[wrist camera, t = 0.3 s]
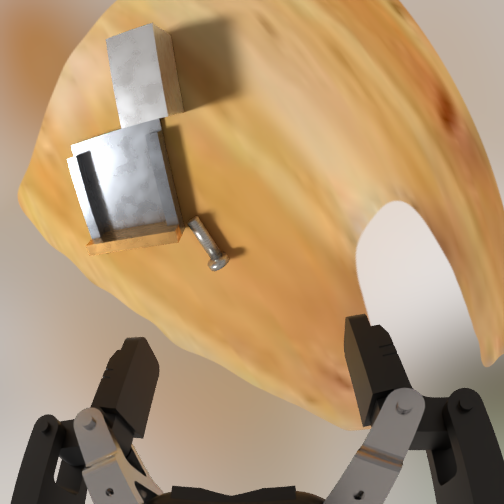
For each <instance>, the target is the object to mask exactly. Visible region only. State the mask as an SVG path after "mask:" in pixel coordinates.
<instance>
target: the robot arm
mask: <svg viewBox="0 0 504 504" xmlns="http://www.w3.org/2000/svg"><path fill="white" fill-rule="evenodd" d="M344 353H345V358H346V362H347V366H348V369H349V373H350V377H351V380H352V384H353V388H354V392H355V396H356V400H357V404H358V408H359V412H360V416H361V420H362V424H363V427H365V426H369V425H371V427H372V428H371V430H370V432H369V434H368V435H367V437H366V439H365V441H364V443H363V444H362V446H361V448H360V449H359V450H358V451H357V453H356V454H355V456H354V457H353V459H352V461H351V462H350V464H349V465H348V467H347V469H346V470H345V472H344V473H343V475H342V477H341V478H340V480H339V481H338V483H337V484H336V486H335V487H334V489H333V490H332V491H331V493H330V495H329V496H328V497H327V499H326V500H325V499H323V498H321V497H319V496H316V495H313V494H310V493H306V492H299V491H296V488H295V486H288V487H276V488H262V489H259V490H256V491H251V492H247V493H243V494H238V495H234V496H229V495H224V494H220V493H216V492H213V491H209V490H205V489H202V488H192V487H180V486H172V492H168V493H163V491H162V490H161V489H160V488H159V486H158V485H157V484H156V483H155V482H154V481H153V480H152V478H151V477H150V475H149V473H148V471H147V470H146V468H145V466H144V465H143V462H142V461H141V459H140V457H139V455H138V453H137V451H136V449H135V447H134V446H133V444H132V441H133V437H134V438H143V437H144V433H145V428H146V424H147V420H148V416H149V412H150V408H151V403H152V400H153V396H154V392H155V388H156V384H157V380H158V377H159V364H158V361H157V359H156V357H155V355H154V353H153V351H152V349H151V348H150V346H149V344H148V342H147V340H146V339H145V338H144V337H135V338H127V339H126V340H125V341H124V344H123V346H122V348H121V350H117V351H116V352H115V353H114V355H113V356H112V357H111V358H110V360H109V362H108V364H107V367H106V370H105V372H104V374H103V378H102V379H101V382H100V384H99V387H98V389H97V392H96V394H95V397H94V400H93V402H92V405H91V407H90V408H86V409H84V410H82V411H81V412H80V413H78V414H77V416H76V418H75V419H73V420H67V421H61V422H59V421H58V420H57V419H56V418H55V417H54V416H53V415H44V416H42V417H40V418H39V419H38V420H37V422H36V423H35V425H34V428H33V430H32V433H31V436H30V439H29V442H28V445H27V448H26V451H25V454H24V457H23V460H22V464H21V467H20V470H19V474H18V477H17V481H16V484H15V488H14V492H13V496H12V500H11V504H85V499H86V494H87V489H88V491H89V493H90V496H91V498H92V501H93V503H94V504H383V502H384V501H385V498H386V497H387V495H388V494H389V492H390V490H391V488H392V486H393V484H394V482H395V480H396V478H397V477H398V475H399V472H400V470H401V468H402V465H403V460H404V458H405V456H406V454H407V451H408V450H426V453H427V457H428V461H429V466H430V470H431V475H432V480H433V485H434V491H435V496H436V502H437V504H504V460H503V457H502V454H501V450H500V448H499V444H498V441H497V438H496V436H495V433H494V430H493V427H492V424H491V422H490V419H489V416H488V414H487V412H486V409H485V406H484V404H483V401H482V399H481V397H480V395H479V394H478V393H477V392H475V391H474V390H472V389H469V388H461V389H458V390H456V391H454V392H453V393H452V394H451V396H450V397H446V398H432V397H425V396H422V395H421V394H420V393H419V392H417V391H416V390H414V389H413V388H412V386H411V384H410V382H409V380H408V377H407V375H406V373H405V370H404V368H403V365H402V363H401V360H400V358H399V356H398V354H397V351H396V349H395V346H394V345H393V342H392V339H391V337H390V335H389V333H388V332H387V331H386V330H385V329H384V328H383V327H382V326H380V325H375V326H370V323H369V321H368V318H367V316H366V315H365V314H361V315H355V316H349V317H346V319H345V334H344ZM58 457H60V458H61V459H62V461H61V465H60V469H59V473H58V477H57V481H56V483H55V481H54V472H55V469H56V465H57V460H58Z"/></svg>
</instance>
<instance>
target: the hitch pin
mask: <svg viewBox="0 0 504 504" xmlns="http://www.w3.org/2000/svg"><path fill="white" fill-rule="evenodd" d="M187 224H188V226H189V227H190V229H191V230H192V232H193V233H194V234H195V236H196V237H197V239H198V240H199V242H200V243H201V245H202V246H203V248H204V249H205V251H206V252H207V254H208V255H209V257H210V258H211V259H210V260H209V262H208V266H209V268H210V269H211V271H217V270H219V269H221V268H223V267H224V266H225V265H226V264H227V263H228V261H229V257H228V256H227V254H226V253H224V252H221V251H220V249H219V248H218V246H217V245H216V243H215V242H214V240H213V239H212V237H211V236H210V234H209V233H208V231H207V230H206V228H205V227H204V225H203V224H202V222H201V220H200V219H199V217H198V216H196V217H193V218H192V219H190V220H189V221H188V222H187Z"/></svg>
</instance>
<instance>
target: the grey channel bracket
mask: <svg viewBox="0 0 504 504" xmlns="http://www.w3.org/2000/svg"><path fill="white" fill-rule="evenodd" d="M71 148H72V152H73V157H71V158H69V159H67V161H68V165H69V169H70V172H71V176H72V179H73V183H74V186H75V190H76V193H77V196H78V199H79V202H80V206H81V209H82V212H83V215H84V218H85V221H86V223H87V226H88V229H89V232H90V235H91V237H92V240H91V241H90V242H89V243H88V244H87V245H86V248H87V251H88V253H89V256H92V255H98V254H104V253H111V252H117V251H124V250H131V249H137V248H144V247H151V246H158V245H164V244H171V243H178V242H179V240H180V238H181V236H182V234H183V232H184V229H185V227H184V223H183V219H182V215H181V211H180V207H179V203H178V199H177V194H176V190H175V186H174V182H173V177H172V173H171V169H170V164H169V160H168V155H167V151H166V146H165V141H164V136H163V132H162V127H161V122H160V118H159V119H155V120H151V121H147V122H144V123H140V124H136V125H133V126H129V127H126V128H123V129H119V130H116V131H113V132H109V133H106V134H103V135H100V136H97V137H94V138H91V139H88V140H86V141H83V142H80V143H77V144H75V145H72V146H71Z"/></svg>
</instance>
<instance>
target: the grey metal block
mask: <svg viewBox="0 0 504 504" xmlns="http://www.w3.org/2000/svg"><path fill="white" fill-rule="evenodd" d="M106 43H107V50H108V57H109V64H110V70H111V76H112V82H113V88H114V93H115V99H116V104H117V109H118V114H119V119H120V124H121V128H122V129H123V128H126V127H129V126H133V125H136V124H140V123H144V122H147V121H151V120H155V119H159V118H163V117H167V116H171V115H175V114H179V113H184V108H183V103H182V98H181V92H180V86H179V81H178V75H177V69H176V63H175V57H174V51H173V45H172V39H171V35H170V34H168V33H167V32H165V31H164V30H162V29H161V28H159V27H158V26H156V25H155V24H153V23H150V24H147V25H144V26H141V27H138V28H135V29H132V30H129V31H126V32H124V33H121V34H118V35H116V36H113V37H110V38H108V39H106Z"/></svg>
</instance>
